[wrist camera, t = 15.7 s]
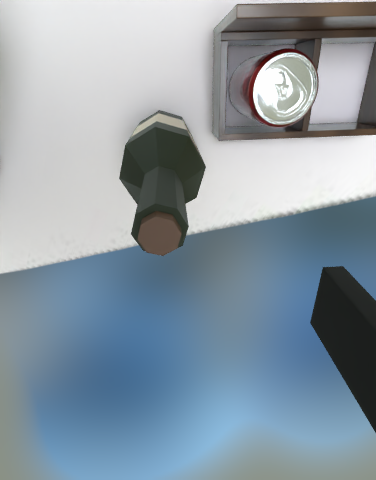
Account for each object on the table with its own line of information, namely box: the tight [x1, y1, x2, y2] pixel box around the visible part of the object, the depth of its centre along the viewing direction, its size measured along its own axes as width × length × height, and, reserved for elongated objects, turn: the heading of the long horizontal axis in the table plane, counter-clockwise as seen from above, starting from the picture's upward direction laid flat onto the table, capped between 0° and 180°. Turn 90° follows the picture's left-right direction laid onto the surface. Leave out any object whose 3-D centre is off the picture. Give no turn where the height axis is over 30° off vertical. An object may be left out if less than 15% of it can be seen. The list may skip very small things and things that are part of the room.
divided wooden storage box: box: [212, 2, 376, 141], centre depth 35 cm, size 22×12×14 cm, turn 92°
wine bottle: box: [119, 110, 206, 256], centre depth 30 cm, size 8×8×30 cm
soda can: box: [229, 49, 318, 128], centre depth 35 cm, size 7×7×12 cm
